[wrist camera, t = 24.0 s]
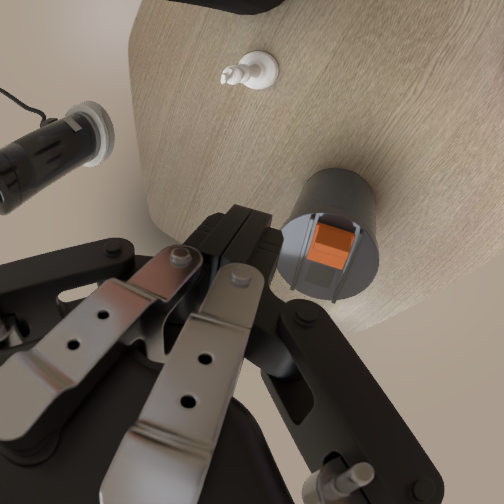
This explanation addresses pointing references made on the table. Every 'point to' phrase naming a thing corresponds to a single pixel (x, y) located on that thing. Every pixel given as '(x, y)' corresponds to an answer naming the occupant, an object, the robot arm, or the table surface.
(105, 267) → the robot arm
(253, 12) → the coffee jar
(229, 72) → the chess piece
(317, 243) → the lid slider
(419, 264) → the table surface
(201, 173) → the table surface
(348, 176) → the travel cup
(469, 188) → the table surface
